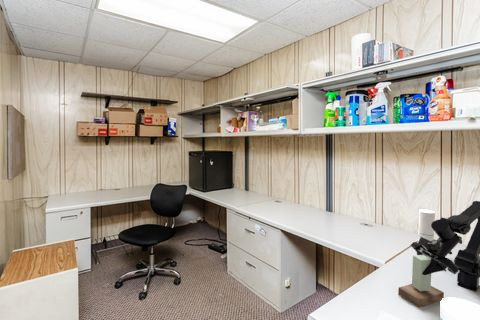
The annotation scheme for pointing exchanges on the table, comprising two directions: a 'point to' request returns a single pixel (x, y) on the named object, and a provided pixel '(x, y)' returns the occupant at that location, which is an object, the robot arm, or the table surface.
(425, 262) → the block
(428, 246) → the robot arm
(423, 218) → the cylindrical container
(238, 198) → the table surface
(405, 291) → the plinth
